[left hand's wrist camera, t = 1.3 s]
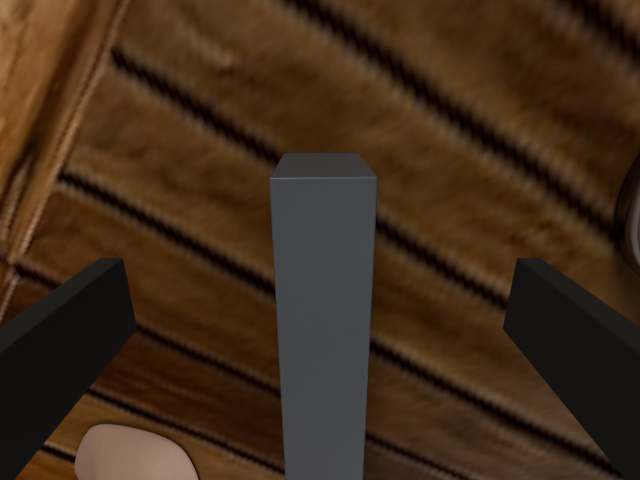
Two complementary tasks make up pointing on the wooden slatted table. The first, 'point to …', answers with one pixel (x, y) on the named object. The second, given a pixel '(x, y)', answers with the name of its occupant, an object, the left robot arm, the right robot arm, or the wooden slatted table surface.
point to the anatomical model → (130, 456)
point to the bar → (323, 308)
